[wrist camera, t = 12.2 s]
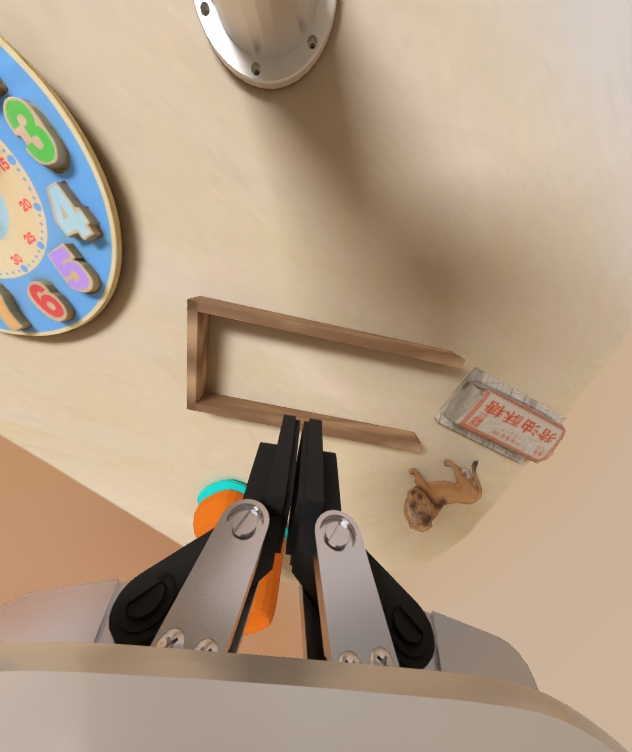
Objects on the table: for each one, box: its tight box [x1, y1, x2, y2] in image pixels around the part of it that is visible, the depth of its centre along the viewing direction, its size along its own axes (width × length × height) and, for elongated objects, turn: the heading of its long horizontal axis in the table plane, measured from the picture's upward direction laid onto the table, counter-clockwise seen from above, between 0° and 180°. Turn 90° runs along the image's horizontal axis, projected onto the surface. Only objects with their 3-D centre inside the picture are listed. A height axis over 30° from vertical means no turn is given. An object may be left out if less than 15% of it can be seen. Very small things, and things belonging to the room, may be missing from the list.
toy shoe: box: [193, 480, 288, 636], centre depth 42 cm, size 12×20×15 cm, turn 32°
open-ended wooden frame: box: [187, 296, 465, 453], centre depth 35 cm, size 15×35×4 cm, turn 78°
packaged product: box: [434, 368, 567, 463], centre depth 37 cm, size 18×5×10 cm
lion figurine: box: [404, 460, 482, 532], centre depth 40 cm, size 15×5×9 cm, turn 116°
